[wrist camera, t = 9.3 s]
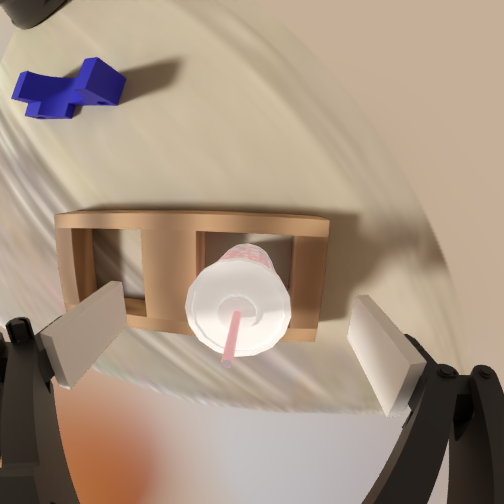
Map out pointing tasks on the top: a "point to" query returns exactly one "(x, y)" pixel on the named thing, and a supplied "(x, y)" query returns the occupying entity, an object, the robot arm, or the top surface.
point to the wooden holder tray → (190, 261)
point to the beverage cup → (239, 304)
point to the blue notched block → (69, 90)
